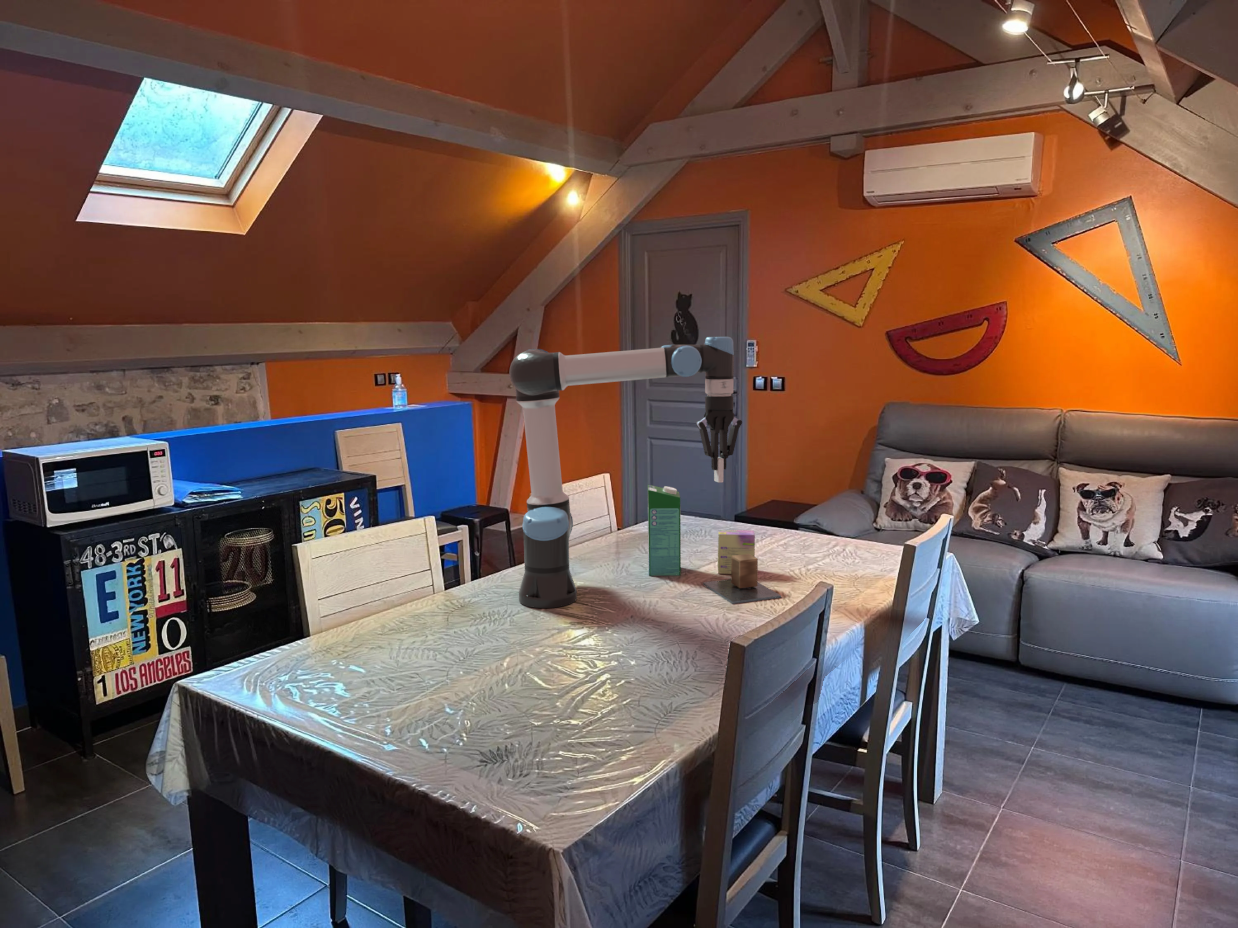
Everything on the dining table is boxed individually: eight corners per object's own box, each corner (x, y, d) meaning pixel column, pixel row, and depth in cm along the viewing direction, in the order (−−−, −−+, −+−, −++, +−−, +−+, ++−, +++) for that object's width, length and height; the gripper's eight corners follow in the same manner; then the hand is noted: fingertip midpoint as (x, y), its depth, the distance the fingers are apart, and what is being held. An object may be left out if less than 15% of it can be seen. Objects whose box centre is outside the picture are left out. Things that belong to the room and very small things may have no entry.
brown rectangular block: (739, 588, 228) (740, 560, 227) (731, 582, 233) (731, 555, 232) (757, 586, 230) (757, 558, 229) (748, 580, 235) (748, 553, 234)
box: (753, 569, 250) (753, 529, 248) (754, 574, 244) (755, 534, 242) (717, 568, 251) (717, 529, 249) (717, 574, 245) (718, 534, 243)
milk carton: (680, 575, 244) (680, 489, 240) (649, 575, 244) (648, 489, 240) (679, 566, 253) (678, 483, 249) (648, 567, 253) (647, 484, 249)
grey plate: (732, 603, 219) (732, 573, 217) (703, 584, 235) (703, 556, 234) (780, 597, 223) (781, 567, 222) (748, 579, 240) (749, 551, 239)
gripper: (702, 396, 224) (702, 485, 228) (747, 395, 228) (746, 482, 232) (691, 394, 231) (691, 481, 235) (735, 393, 235) (734, 477, 239)
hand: (718, 481), depth 233 cm, fingers closed
